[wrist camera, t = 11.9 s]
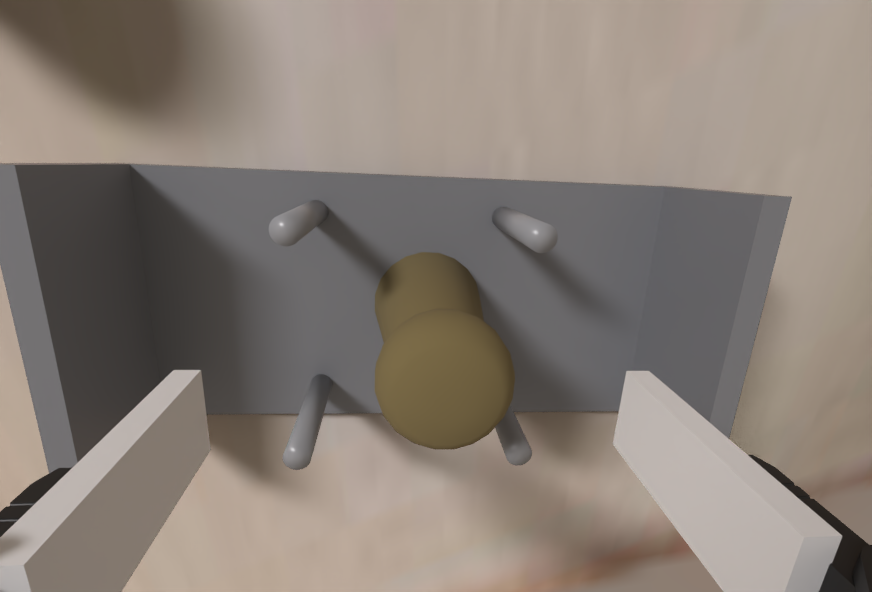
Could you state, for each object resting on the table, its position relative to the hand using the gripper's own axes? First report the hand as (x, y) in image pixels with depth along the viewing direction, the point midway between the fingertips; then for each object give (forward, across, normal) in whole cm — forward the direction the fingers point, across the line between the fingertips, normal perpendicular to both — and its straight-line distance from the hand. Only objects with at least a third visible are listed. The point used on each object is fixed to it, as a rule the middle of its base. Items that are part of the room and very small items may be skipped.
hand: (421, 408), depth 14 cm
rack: (+13, 0, 0) cm, 13 cm away
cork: (+12, +1, 0) cm, 12 cm away
